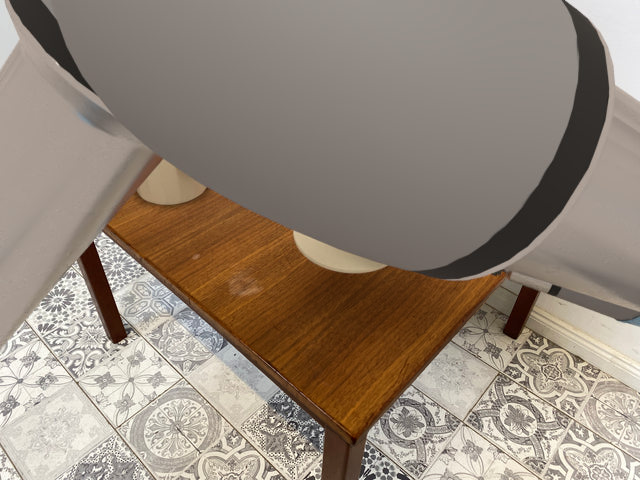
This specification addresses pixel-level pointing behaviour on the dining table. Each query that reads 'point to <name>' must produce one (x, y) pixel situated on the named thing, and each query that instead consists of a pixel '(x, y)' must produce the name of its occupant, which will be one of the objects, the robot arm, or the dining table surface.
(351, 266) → the lid
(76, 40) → the robot arm
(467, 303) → the dining table surface
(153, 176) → the pot
